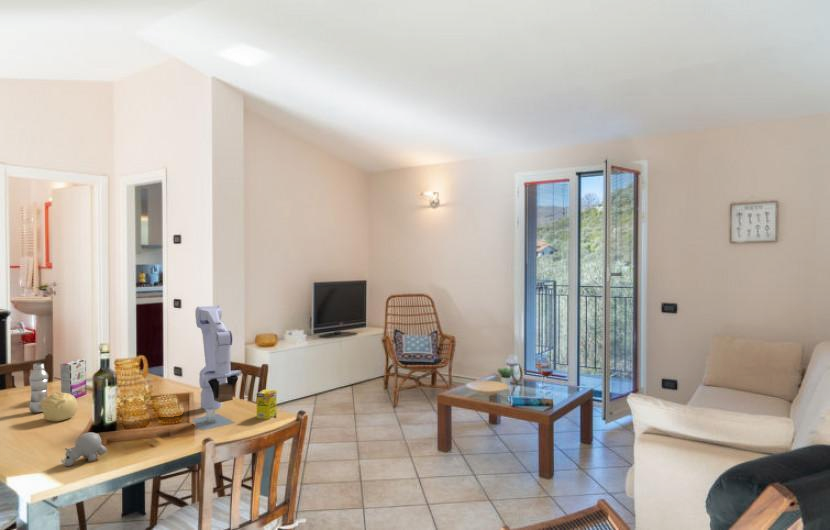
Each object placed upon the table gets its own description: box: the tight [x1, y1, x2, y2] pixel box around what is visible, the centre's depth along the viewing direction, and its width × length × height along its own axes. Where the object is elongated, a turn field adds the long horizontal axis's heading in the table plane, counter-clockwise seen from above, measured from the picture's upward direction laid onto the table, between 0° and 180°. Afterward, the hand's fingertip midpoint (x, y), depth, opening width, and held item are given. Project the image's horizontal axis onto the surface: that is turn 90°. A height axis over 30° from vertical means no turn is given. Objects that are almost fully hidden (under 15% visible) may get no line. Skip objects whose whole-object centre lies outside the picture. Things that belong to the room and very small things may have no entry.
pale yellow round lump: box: [40, 391, 79, 423], centre depth 211 cm, size 12×12×11 cm
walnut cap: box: [214, 382, 234, 403], centre depth 210 cm, size 5×5×6 cm
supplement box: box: [256, 389, 277, 420], centre depth 212 cm, size 6×6×11 cm
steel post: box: [205, 407, 216, 423], centre depth 205 cm, size 3×3×5 cm
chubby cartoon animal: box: [60, 432, 108, 467], centre depth 168 cm, size 7×12×8 cm, turn 143°
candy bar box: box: [59, 358, 88, 399], centre depth 244 cm, size 11×5×16 cm, turn 179°
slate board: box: [193, 413, 236, 431], centre depth 205 cm, size 16×13×1 cm
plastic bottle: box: [28, 362, 49, 414], centre depth 220 cm, size 6×7×20 cm
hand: (223, 396), depth 210 cm, fingers closed on walnut cap, 5 cm apart
